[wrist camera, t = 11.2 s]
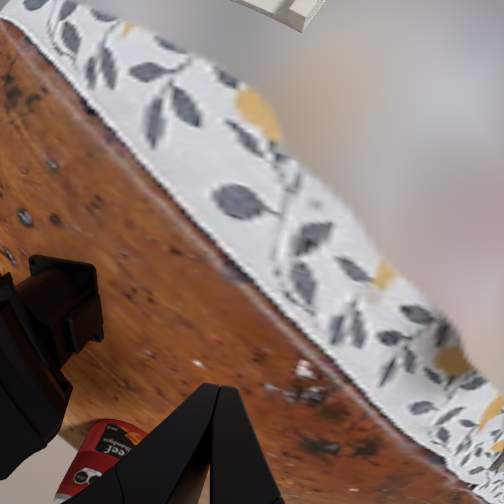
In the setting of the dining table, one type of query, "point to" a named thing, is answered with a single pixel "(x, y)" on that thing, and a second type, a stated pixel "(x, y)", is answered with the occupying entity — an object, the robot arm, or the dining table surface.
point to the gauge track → (286, 10)
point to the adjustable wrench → (500, 464)
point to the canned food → (98, 455)
